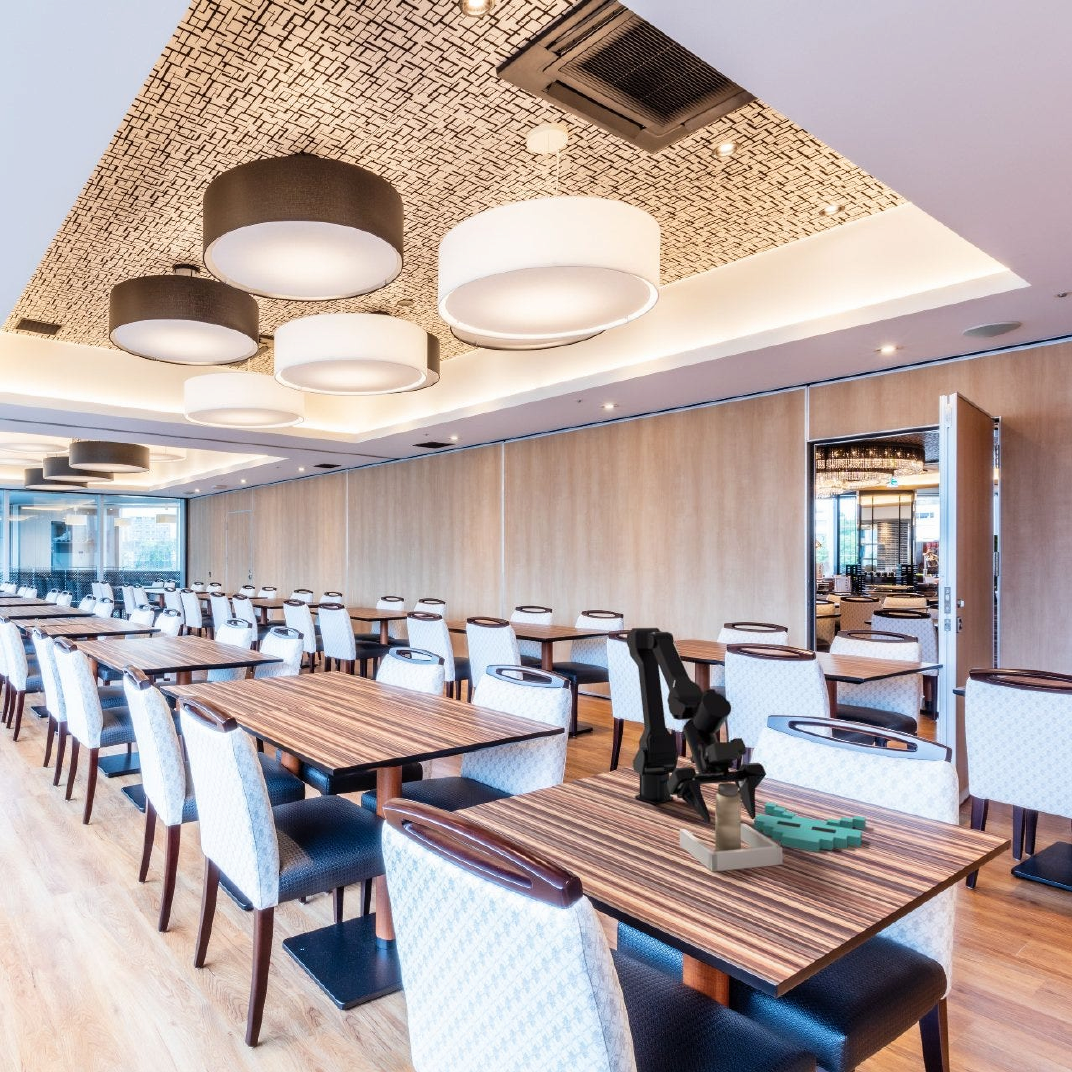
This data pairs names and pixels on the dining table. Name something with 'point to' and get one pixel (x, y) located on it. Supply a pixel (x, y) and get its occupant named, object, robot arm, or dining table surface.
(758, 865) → the u-shaped frame
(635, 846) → the dining table surface
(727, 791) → the pepper mill
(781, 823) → the alien figure
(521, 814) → the dining table surface
